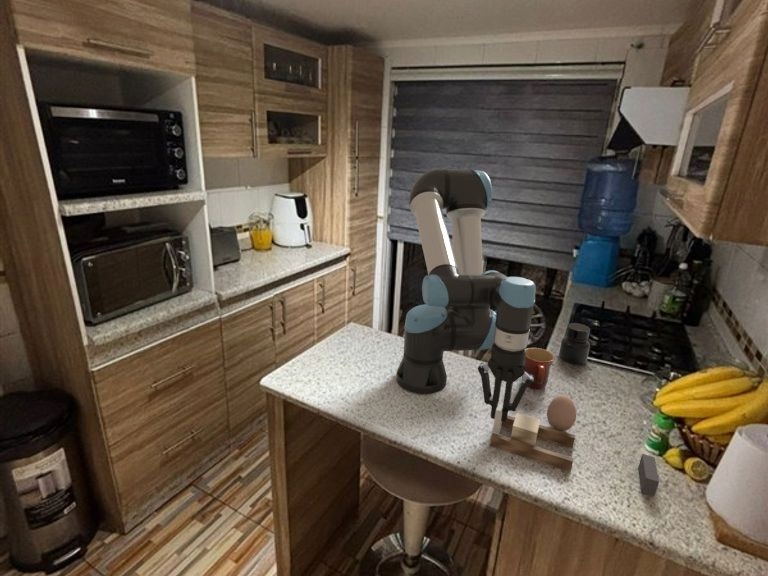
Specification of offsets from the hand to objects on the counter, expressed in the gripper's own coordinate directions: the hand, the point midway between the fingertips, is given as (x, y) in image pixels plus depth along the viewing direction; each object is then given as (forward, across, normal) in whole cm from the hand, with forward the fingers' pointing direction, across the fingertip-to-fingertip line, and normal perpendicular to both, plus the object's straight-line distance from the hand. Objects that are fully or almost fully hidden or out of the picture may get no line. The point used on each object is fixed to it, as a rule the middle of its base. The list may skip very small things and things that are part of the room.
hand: (496, 429), depth 103 cm
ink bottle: (+2, +15, +53) cm, 55 cm away
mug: (+2, +5, +28) cm, 28 cm away
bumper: (+2, +32, 0) cm, 33 cm away
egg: (+2, +14, +10) cm, 17 cm away
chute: (+2, +8, 0) cm, 9 cm away
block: (+2, +6, 0) cm, 7 cm away
